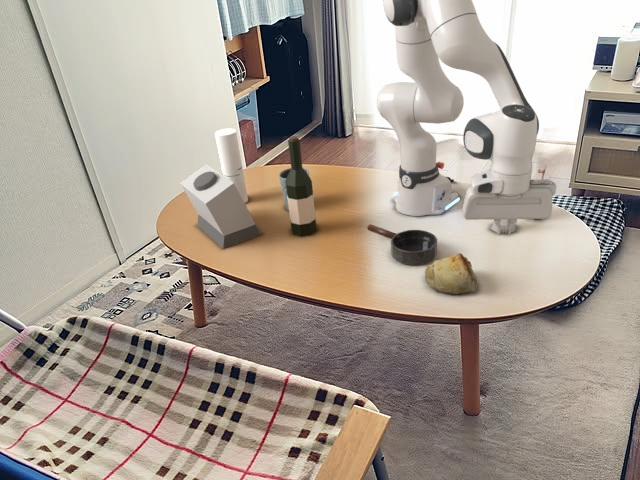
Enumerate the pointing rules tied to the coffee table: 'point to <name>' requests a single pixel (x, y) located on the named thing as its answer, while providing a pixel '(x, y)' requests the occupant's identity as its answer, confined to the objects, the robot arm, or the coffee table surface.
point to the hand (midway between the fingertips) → (503, 233)
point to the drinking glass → (283, 177)
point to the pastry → (451, 275)
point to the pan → (414, 247)
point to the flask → (503, 223)
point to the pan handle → (382, 231)
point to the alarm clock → (219, 207)
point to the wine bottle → (299, 193)
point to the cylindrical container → (231, 159)
